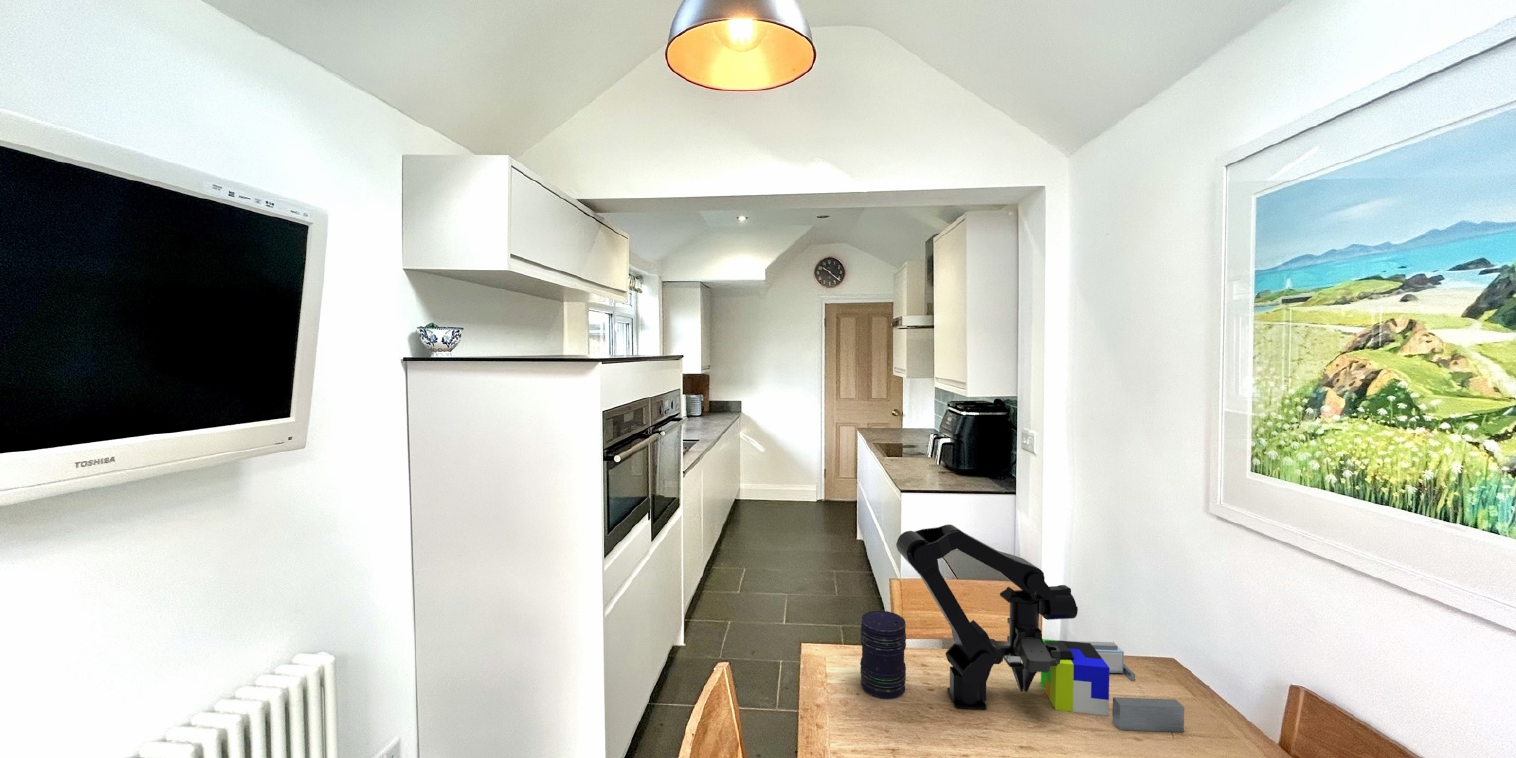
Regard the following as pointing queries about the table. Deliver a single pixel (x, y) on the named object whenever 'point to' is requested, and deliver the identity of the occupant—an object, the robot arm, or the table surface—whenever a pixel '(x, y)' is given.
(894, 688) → the storage jar
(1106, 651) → the bar
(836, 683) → the table surface
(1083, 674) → the puzzle toy
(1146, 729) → the grey rail base
